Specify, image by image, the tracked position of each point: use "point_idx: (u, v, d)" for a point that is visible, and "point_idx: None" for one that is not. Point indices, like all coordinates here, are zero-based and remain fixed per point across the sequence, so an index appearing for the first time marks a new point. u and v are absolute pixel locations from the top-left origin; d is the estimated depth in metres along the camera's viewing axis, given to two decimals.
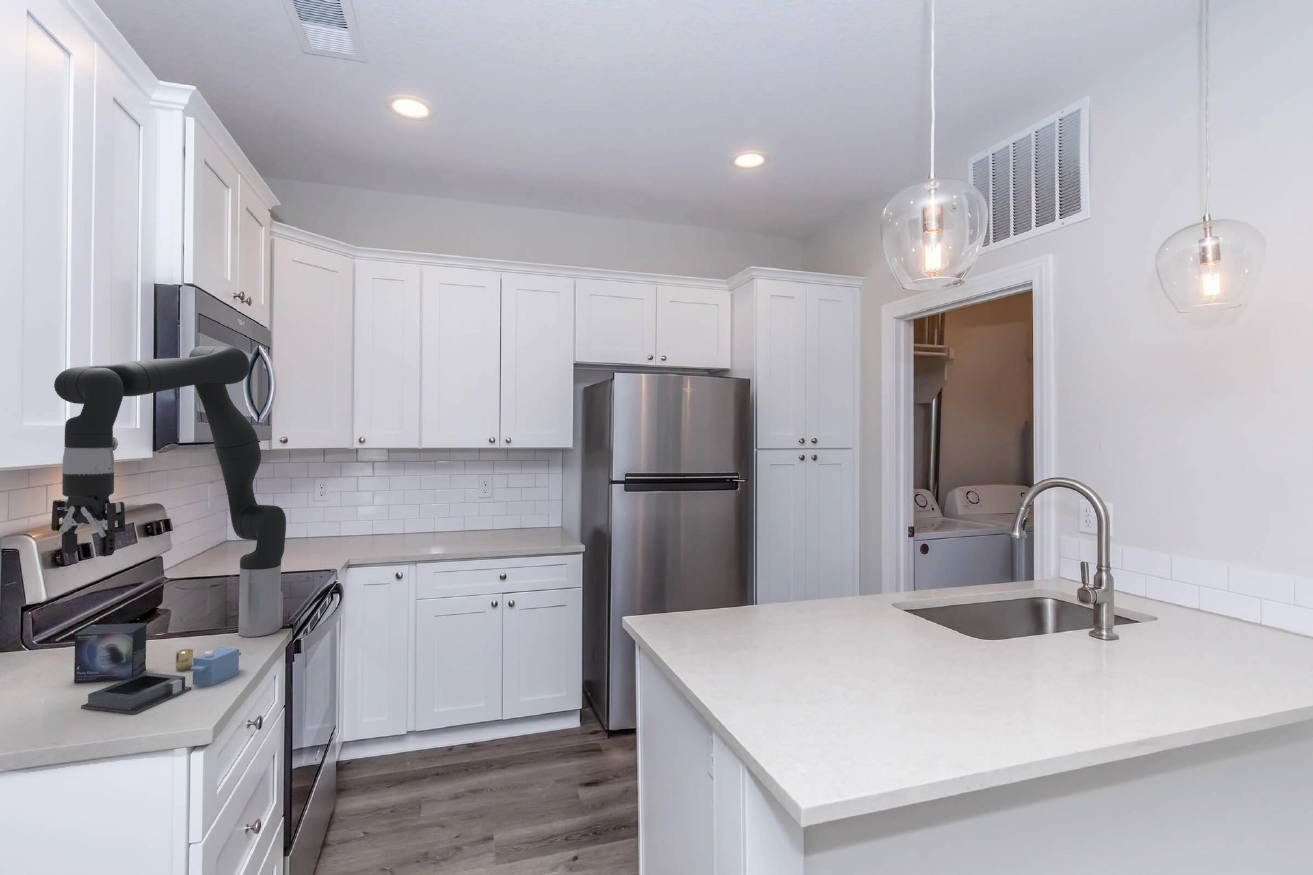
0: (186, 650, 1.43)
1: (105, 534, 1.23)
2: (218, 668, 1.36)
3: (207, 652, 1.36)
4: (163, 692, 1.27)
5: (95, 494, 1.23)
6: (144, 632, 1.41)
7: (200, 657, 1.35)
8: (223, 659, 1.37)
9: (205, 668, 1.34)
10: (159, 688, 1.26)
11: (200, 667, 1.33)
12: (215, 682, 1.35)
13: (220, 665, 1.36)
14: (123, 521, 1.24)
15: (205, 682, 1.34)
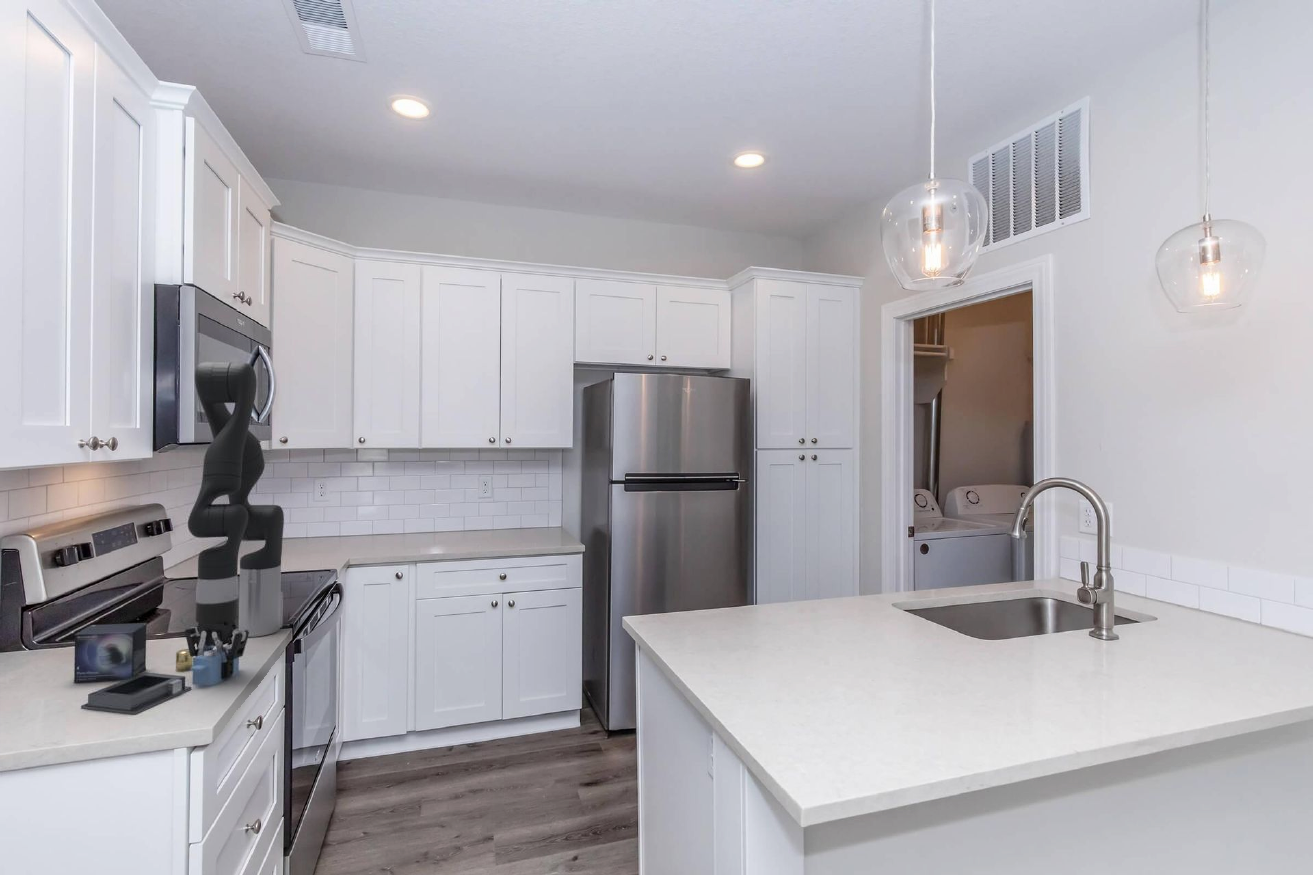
0: (186, 650, 1.43)
1: (226, 660, 1.36)
2: (218, 668, 1.36)
3: (207, 651, 1.36)
4: (163, 692, 1.27)
5: (225, 620, 1.36)
6: (144, 632, 1.41)
7: (200, 657, 1.35)
8: None
9: (205, 668, 1.34)
10: (159, 688, 1.26)
11: (200, 667, 1.33)
12: (215, 682, 1.35)
13: (220, 665, 1.36)
14: (243, 648, 1.38)
15: (205, 682, 1.34)
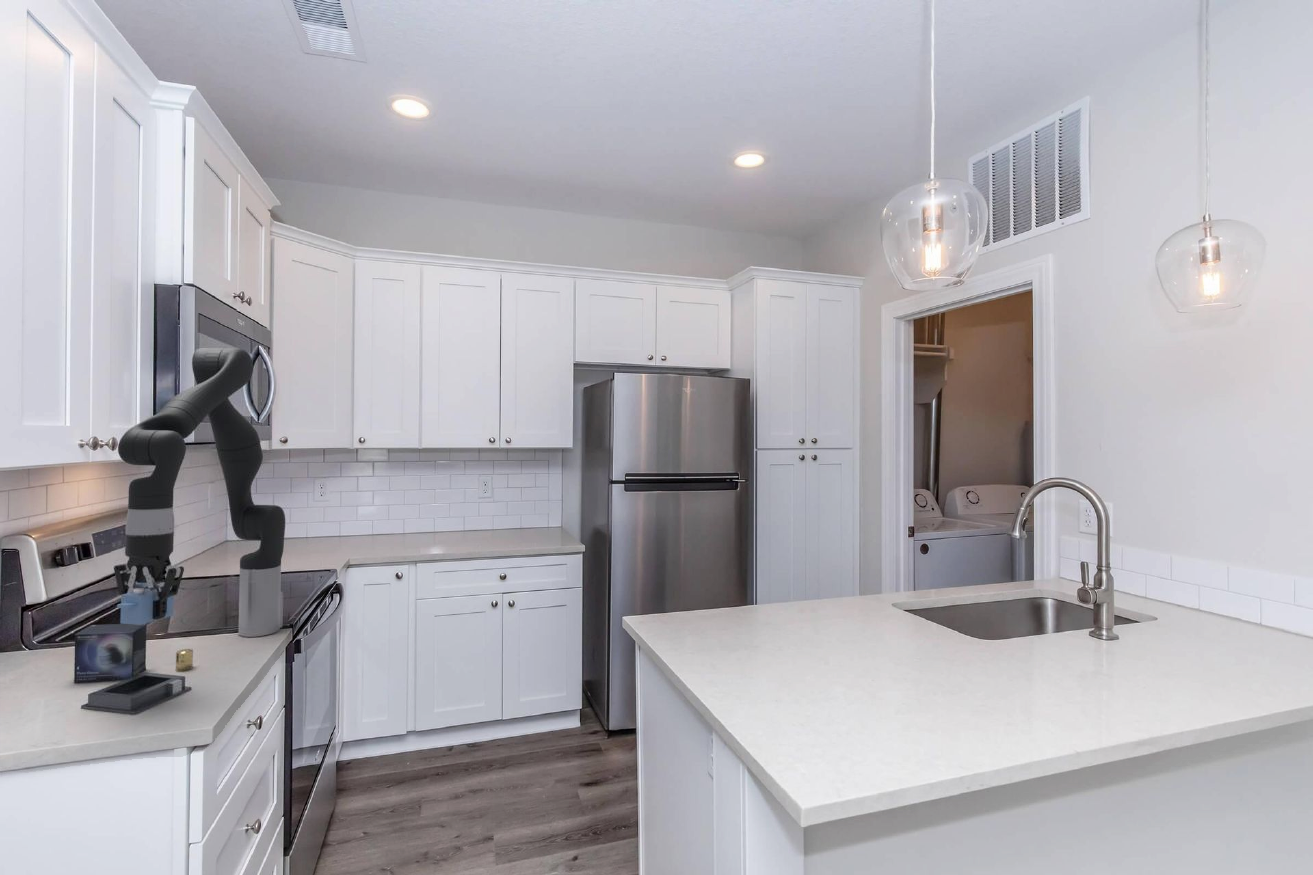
0: (186, 650, 1.43)
1: (158, 597, 1.26)
2: (149, 606, 1.25)
3: (137, 588, 1.25)
4: (163, 692, 1.27)
5: (157, 554, 1.25)
6: (144, 632, 1.41)
7: (130, 594, 1.25)
8: None
9: (134, 605, 1.23)
10: (159, 688, 1.26)
11: (128, 604, 1.23)
12: (145, 621, 1.24)
13: (151, 603, 1.26)
14: (178, 585, 1.27)
15: (134, 621, 1.24)
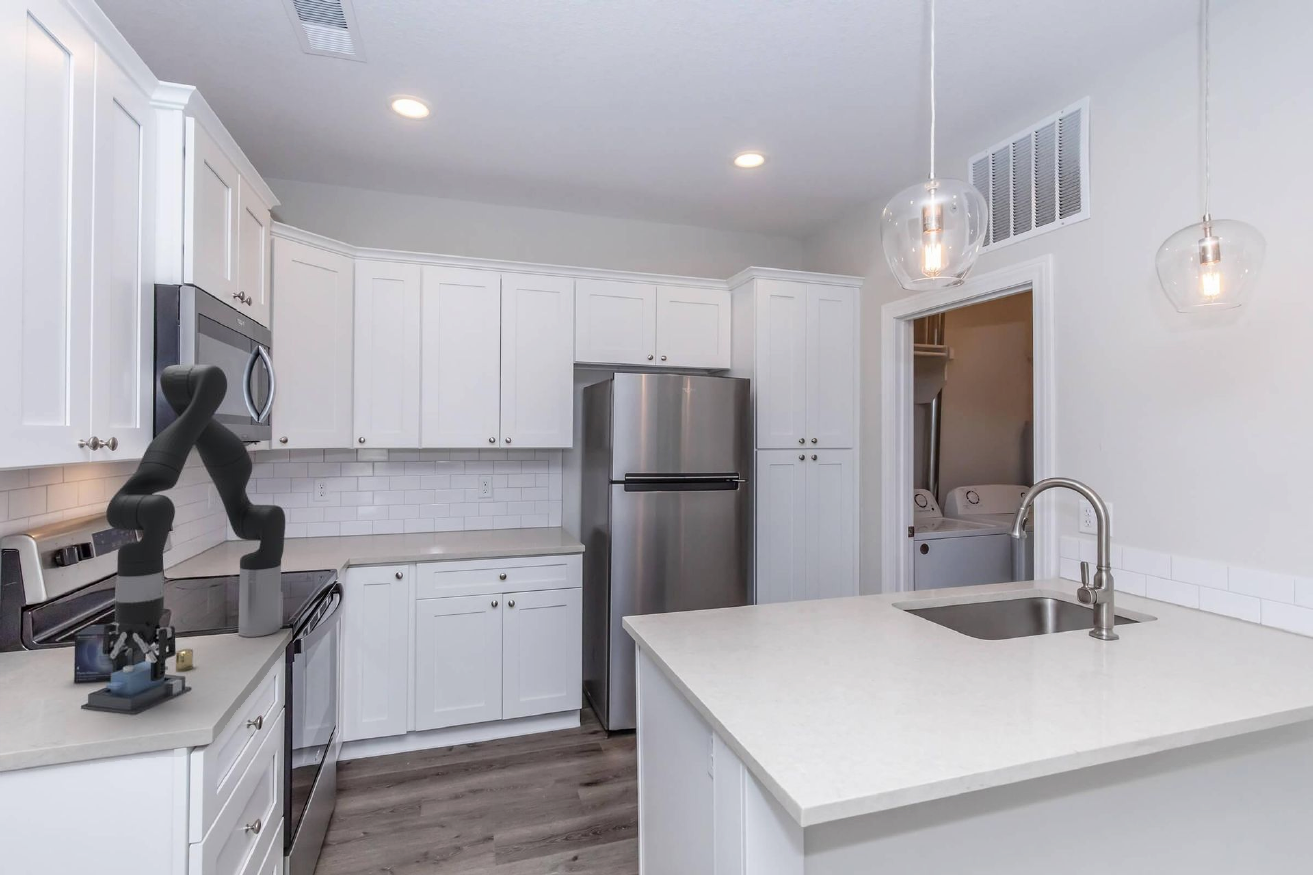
0: (186, 650, 1.43)
1: (156, 660, 1.25)
2: (138, 684, 1.25)
3: (127, 667, 1.25)
4: (163, 692, 1.27)
5: (147, 620, 1.25)
6: None
7: (119, 673, 1.24)
8: (145, 675, 1.26)
9: (123, 685, 1.23)
10: (159, 688, 1.26)
11: (117, 684, 1.23)
12: None
13: (141, 681, 1.25)
14: (174, 645, 1.27)
15: None
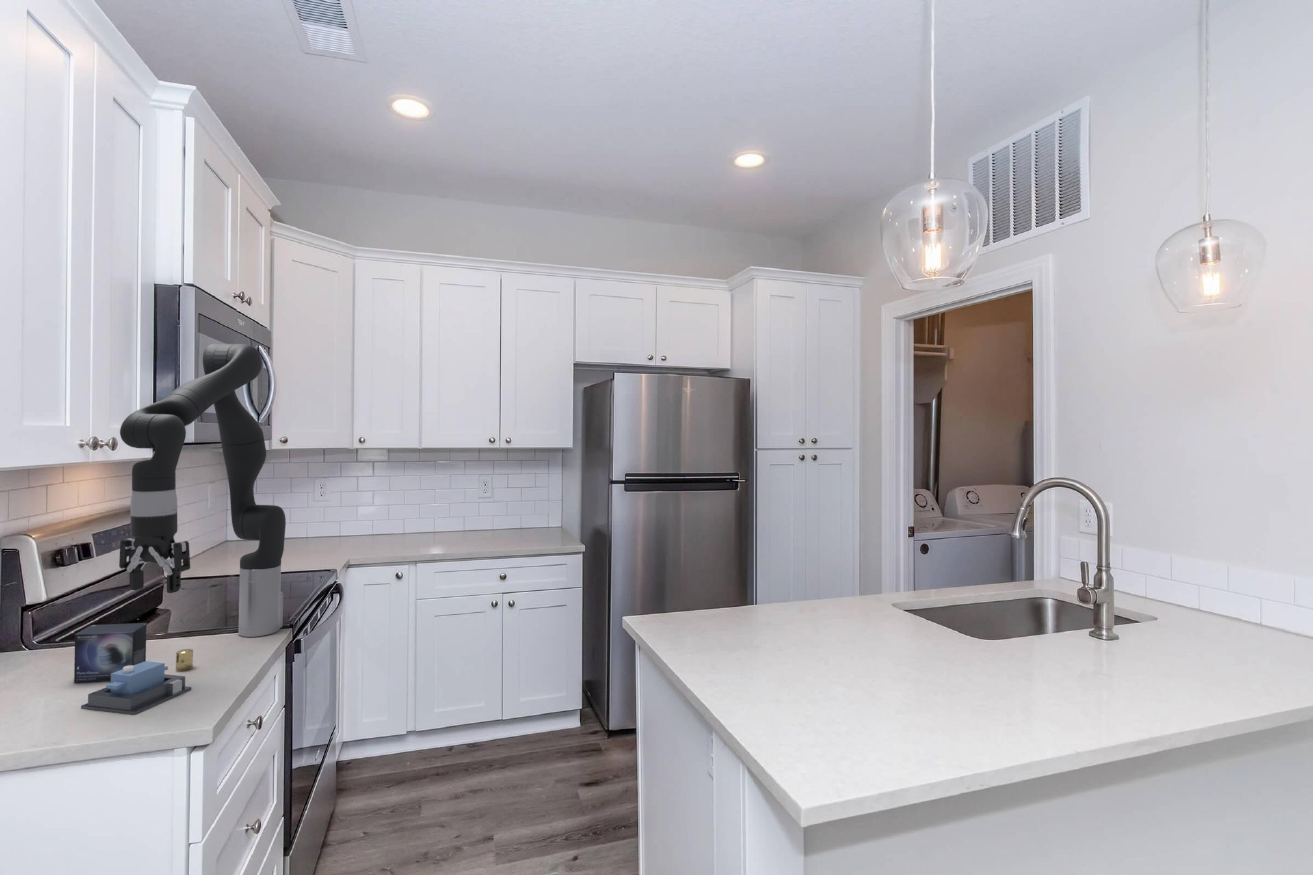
0: (186, 650, 1.43)
1: (172, 572, 1.30)
2: (138, 684, 1.25)
3: (127, 667, 1.25)
4: (163, 692, 1.27)
5: (162, 535, 1.29)
6: (144, 632, 1.41)
7: (119, 673, 1.24)
8: (145, 675, 1.26)
9: (123, 685, 1.23)
10: (159, 688, 1.26)
11: (117, 684, 1.23)
12: None
13: (141, 681, 1.25)
14: (188, 559, 1.31)
15: None
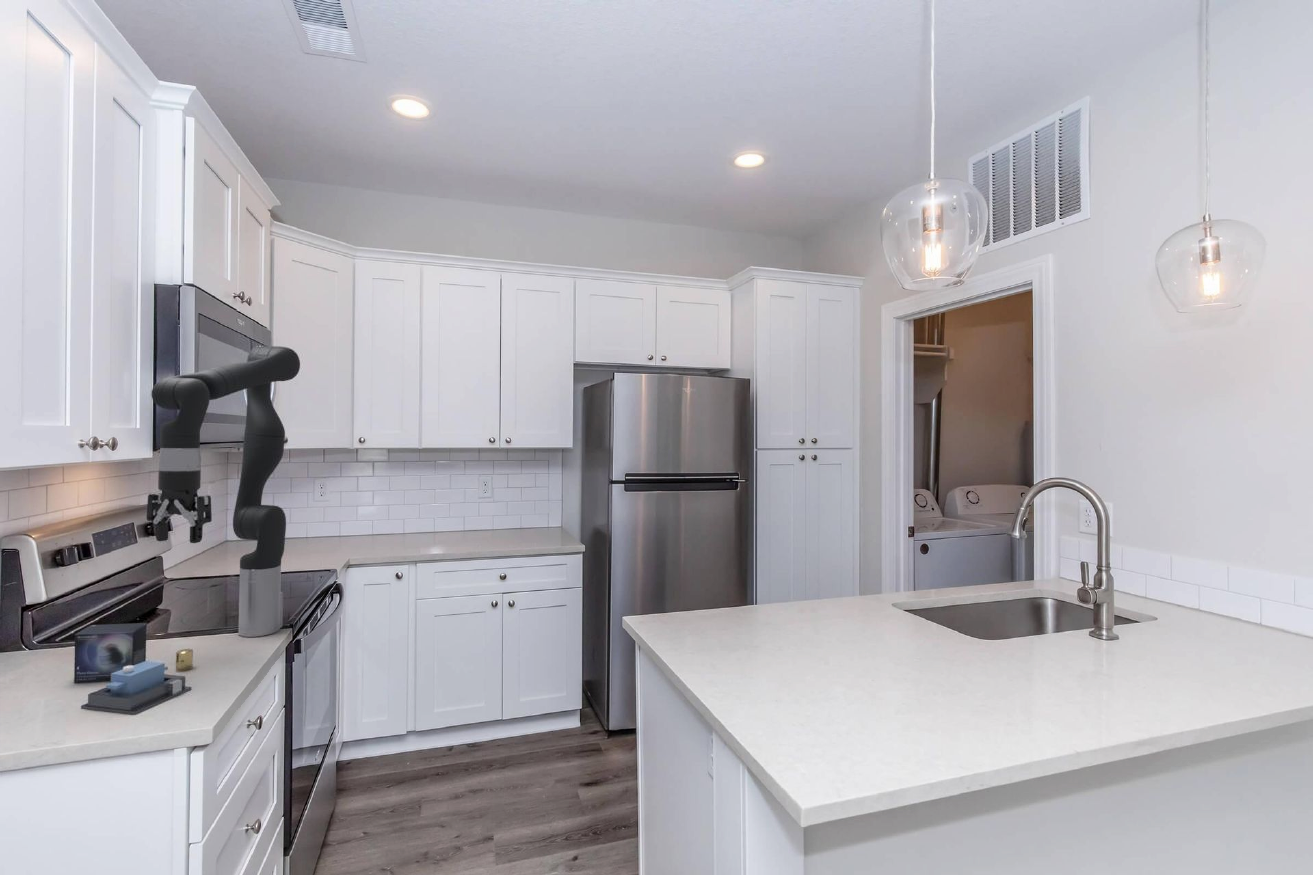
0: (186, 650, 1.43)
1: (195, 523, 1.41)
2: (138, 684, 1.25)
3: (127, 667, 1.25)
4: (163, 692, 1.27)
5: (187, 488, 1.40)
6: (144, 632, 1.41)
7: (119, 673, 1.24)
8: (145, 675, 1.26)
9: (123, 685, 1.23)
10: (159, 688, 1.26)
11: (117, 684, 1.23)
12: None
13: (141, 681, 1.25)
14: (210, 512, 1.42)
15: None
